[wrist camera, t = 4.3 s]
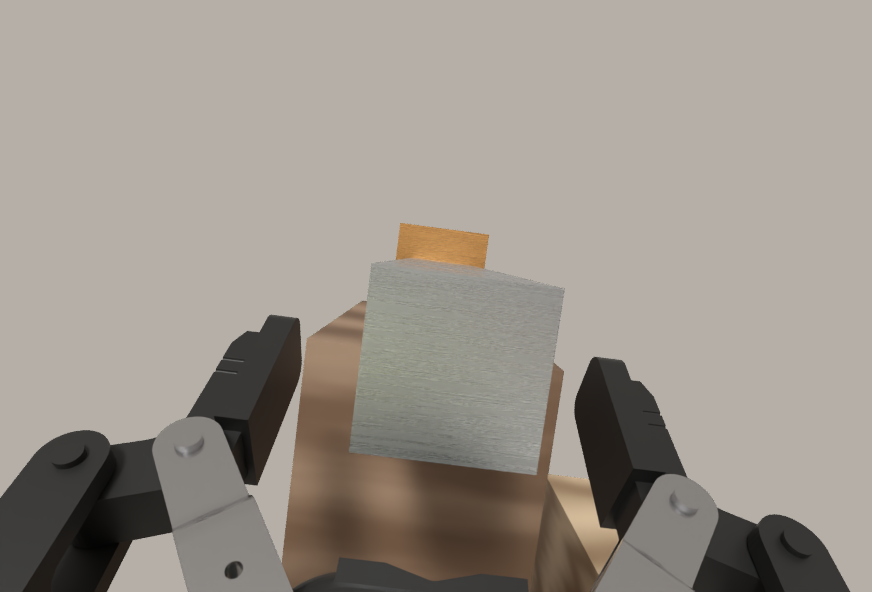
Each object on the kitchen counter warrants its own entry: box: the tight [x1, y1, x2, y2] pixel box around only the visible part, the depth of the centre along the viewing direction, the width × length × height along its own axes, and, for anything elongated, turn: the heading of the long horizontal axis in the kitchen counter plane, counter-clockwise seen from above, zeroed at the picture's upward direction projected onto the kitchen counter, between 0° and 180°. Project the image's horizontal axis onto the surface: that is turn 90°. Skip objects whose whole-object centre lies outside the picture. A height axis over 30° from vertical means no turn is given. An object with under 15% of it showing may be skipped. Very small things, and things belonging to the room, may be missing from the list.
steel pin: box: [349, 223, 565, 475], centre depth 22 cm, size 26×6×6 cm, turn 1°
